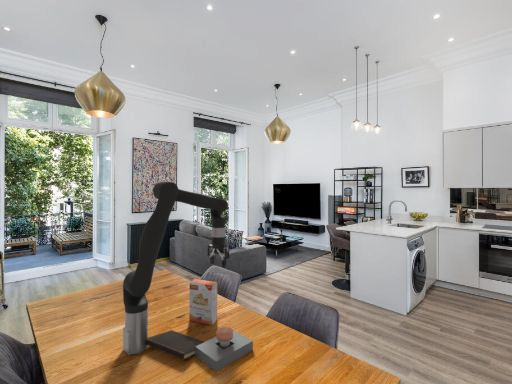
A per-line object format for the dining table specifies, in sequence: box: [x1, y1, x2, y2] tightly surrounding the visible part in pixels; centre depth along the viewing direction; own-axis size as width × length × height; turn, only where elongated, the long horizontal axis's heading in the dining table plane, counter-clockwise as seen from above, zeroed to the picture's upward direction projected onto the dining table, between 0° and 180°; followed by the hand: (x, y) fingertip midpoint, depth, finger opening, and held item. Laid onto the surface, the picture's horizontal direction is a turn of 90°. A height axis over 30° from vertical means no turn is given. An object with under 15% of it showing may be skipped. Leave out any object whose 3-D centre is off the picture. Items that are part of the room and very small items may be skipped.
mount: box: [194, 329, 254, 373], centre depth 117 cm, size 20×14×4 cm
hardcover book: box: [146, 329, 205, 361], centre depth 120 cm, size 16×23×2 cm
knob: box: [216, 326, 234, 349], centre depth 117 cm, size 7×7×6 cm
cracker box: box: [188, 278, 218, 326], centre depth 145 cm, size 14×6×21 cm, turn 69°
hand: (218, 265), depth 149 cm, fingers open, 8 cm apart
